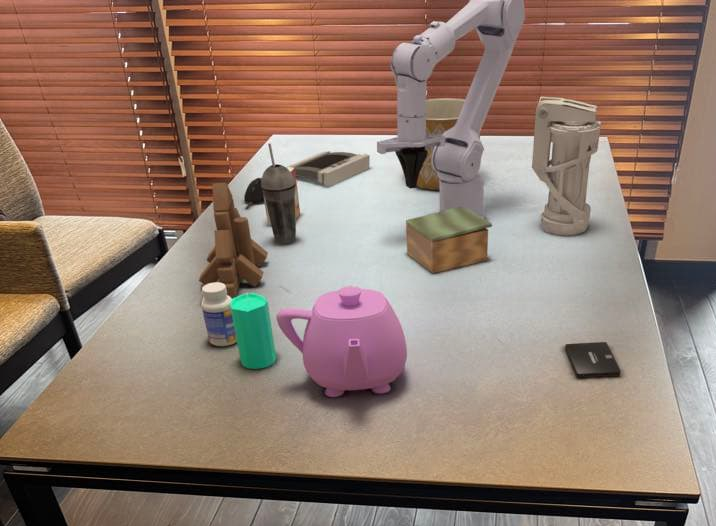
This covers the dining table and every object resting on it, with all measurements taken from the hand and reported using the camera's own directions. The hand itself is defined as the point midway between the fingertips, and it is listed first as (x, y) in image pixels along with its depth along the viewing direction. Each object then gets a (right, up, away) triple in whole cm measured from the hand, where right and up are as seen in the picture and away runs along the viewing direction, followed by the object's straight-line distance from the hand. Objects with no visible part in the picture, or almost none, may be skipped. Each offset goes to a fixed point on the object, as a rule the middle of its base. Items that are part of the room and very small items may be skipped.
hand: (411, 186), depth 165 cm
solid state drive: (+29, -45, -36) cm, 64 cm away
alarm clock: (-22, +22, +42) cm, 52 cm away
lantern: (+33, -5, +8) cm, 34 cm away
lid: (+7, -10, -6) cm, 14 cm away
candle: (-26, -44, -32) cm, 60 cm away
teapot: (-10, -49, -39) cm, 64 cm away
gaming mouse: (-37, +10, +29) cm, 48 cm away
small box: (-29, 0, +17) cm, 34 cm away
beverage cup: (-27, -8, +8) cm, 30 cm away
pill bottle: (-33, -39, -26) cm, 57 cm away
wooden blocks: (-35, -21, -6) cm, 42 cm away
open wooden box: (+7, -15, -2) cm, 17 cm away
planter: (+8, +17, +34) cm, 39 cm away
